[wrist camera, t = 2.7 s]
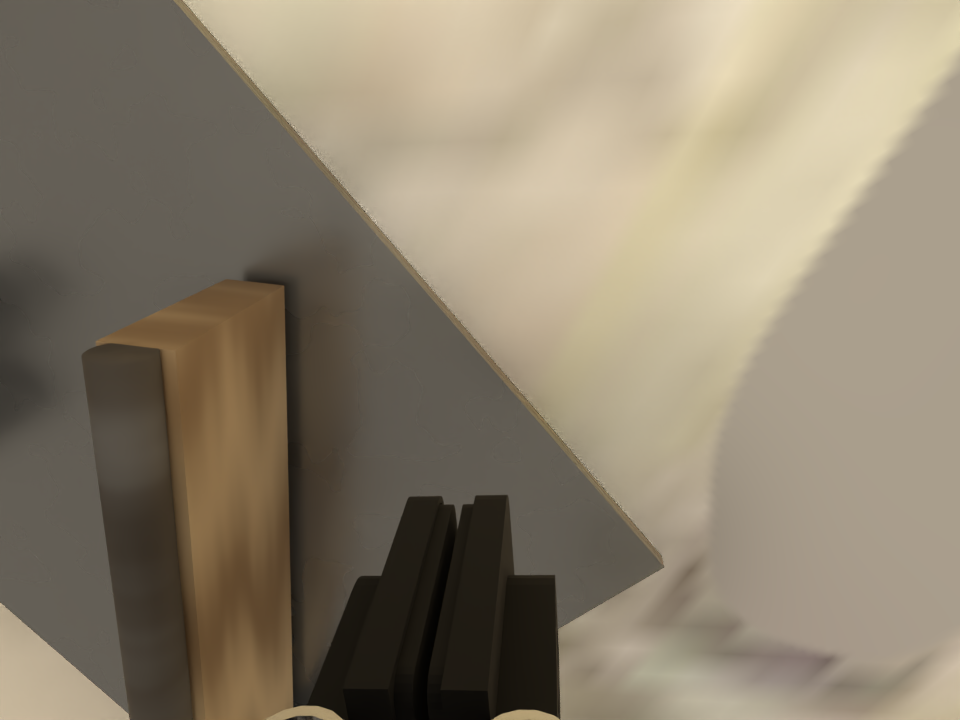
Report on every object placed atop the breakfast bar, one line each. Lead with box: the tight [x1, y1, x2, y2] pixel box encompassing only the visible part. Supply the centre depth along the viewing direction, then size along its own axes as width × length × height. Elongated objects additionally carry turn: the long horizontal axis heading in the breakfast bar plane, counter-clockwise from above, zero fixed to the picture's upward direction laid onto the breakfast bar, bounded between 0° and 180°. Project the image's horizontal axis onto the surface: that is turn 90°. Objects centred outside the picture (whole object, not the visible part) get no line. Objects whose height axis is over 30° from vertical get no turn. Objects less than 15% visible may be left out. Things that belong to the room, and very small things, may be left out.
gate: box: [81, 279, 293, 720], centre depth 16 cm, size 14×2×6 cm, turn 175°
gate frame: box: [0, 0, 664, 713], centre depth 16 cm, size 22×18×7 cm
